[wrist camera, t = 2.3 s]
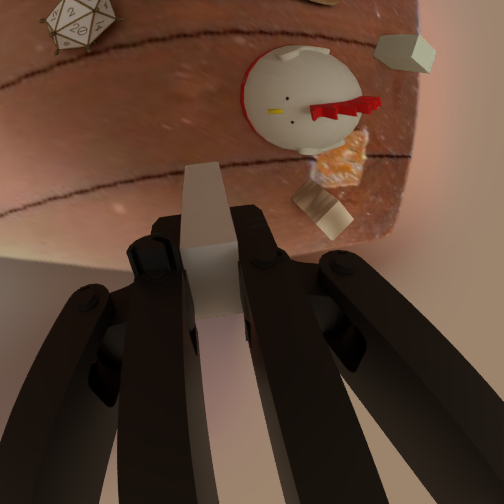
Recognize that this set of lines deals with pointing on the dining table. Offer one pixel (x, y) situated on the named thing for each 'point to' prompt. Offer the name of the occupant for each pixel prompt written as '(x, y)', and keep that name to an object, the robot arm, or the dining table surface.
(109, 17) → the game die
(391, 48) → the sage block
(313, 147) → the kitchen timer
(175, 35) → the dining table surface
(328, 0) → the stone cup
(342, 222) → the birch block
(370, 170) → the dining table surface
